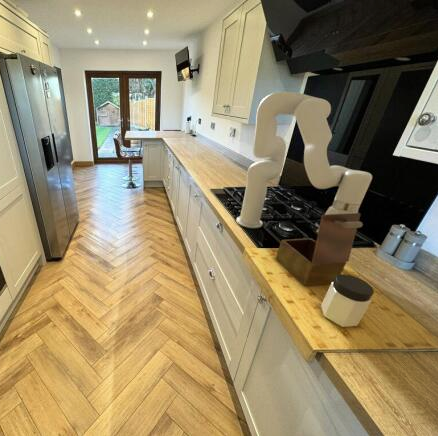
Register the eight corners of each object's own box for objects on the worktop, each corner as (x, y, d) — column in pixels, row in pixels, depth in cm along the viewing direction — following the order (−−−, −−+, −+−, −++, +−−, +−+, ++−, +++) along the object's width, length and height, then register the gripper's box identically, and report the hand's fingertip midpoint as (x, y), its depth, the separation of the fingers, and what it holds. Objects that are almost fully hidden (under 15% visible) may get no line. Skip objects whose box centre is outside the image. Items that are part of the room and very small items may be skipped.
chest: (275, 258, 94) (281, 239, 90) (304, 256, 95) (311, 238, 91) (303, 285, 80) (312, 264, 76) (336, 282, 81) (346, 262, 77)
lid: (321, 214, 71) (337, 219, 66) (358, 212, 73) (376, 217, 68) (311, 263, 76) (325, 271, 71) (346, 260, 78) (361, 268, 73)
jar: (340, 303, 73) (356, 272, 67) (364, 326, 65) (384, 293, 60) (313, 305, 72) (327, 274, 67) (335, 328, 65) (352, 295, 59)
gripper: (356, 200, 89) (339, 241, 97) (316, 202, 87) (301, 243, 95) (376, 208, 83) (355, 251, 91) (333, 210, 81) (315, 254, 89)
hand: (328, 247), depth 93 cm, fingers open, 5 cm apart
